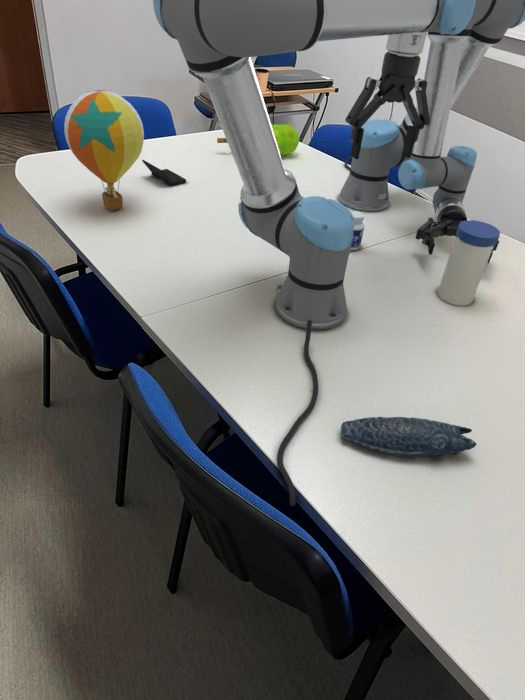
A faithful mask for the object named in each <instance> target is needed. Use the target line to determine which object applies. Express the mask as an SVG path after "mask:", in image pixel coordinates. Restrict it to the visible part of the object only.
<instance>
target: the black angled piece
mask: <svg viewBox="0 0 525 700" xmlns="http://www.w3.org/2000/svg"><path fill="white" fill-rule="evenodd" d="M141 161H142V163H143V164H144V165H145V167H147V169H148V170H149V171H150V172H151V174H150V175H151V176H153V177H155V178H156V179H158V180H160V181H162V182H163V183H165V184H167V185H168V186H170V187H172V186H177V185H180V184H184V183H185V184H186V183H187V179H186V178H184V177H183V176H181V175H179V174H177V173H175V172H173V171H172V170H170V169H168V168H164V169H161V168H159V167H157V166H155V165H153V164H151V163H150V162H148V161H146V160H145V159H142V160H141Z"/></svg>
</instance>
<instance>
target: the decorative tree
mask: <svg viewBox="0 0 525 700" xmlns="http://www.w3.org/2000/svg"><path fill="white" fill-rule="evenodd" d="M271 126H272V129H273V133H274V136H275V139H276V143H277V146H278V149H279V153H280V156H289V155H290V154H292V153H295V151H296V150H297V148H298V145H299V143H300V134H299V131H298V130H296V129H295V127H294V126H293V125H291V124H272V123H271ZM216 142H217V144H228V142H227V139H226V137H217V138H216Z"/></svg>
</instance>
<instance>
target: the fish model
mask: <svg viewBox="0 0 525 700" xmlns="http://www.w3.org/2000/svg"><path fill="white" fill-rule="evenodd" d="M472 431H473V429H471V428H470V427H466V426H460V425H456V424H450V423H448V422H443V421H437V420H431V419H427V418H421V417H420V418H419V417H405V416H392V417H387V416H386V417H385V416H377V417H375V416H373V417H372V416H371V417H363V418H358V419H353V420H347V421H343V422H342V423H341V425H340V432H341V434H340V439H343V440H347V441H349V442H353V443H354V444H355V445H359V446H361V447H363V448H367V449H370V450H371V451H375V452H380V453H383V454H385V453H387V454H389V455H391V456H399V457H407V458H413V457H423V456H427V457H430V458H439V457H440V456H441V455H445V454H451V455H454V456H457V455H459V454H460V453H461V452H464V451H468V450H472V449H474V448H475V447H476V446H477V443H476V441H474V440H473V439H472V438H469V437H467V436H465V435H464V434H470V433H471V432H472Z"/></svg>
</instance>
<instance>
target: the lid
mask: <svg viewBox="0 0 525 700" xmlns="http://www.w3.org/2000/svg"><path fill="white" fill-rule="evenodd" d="M456 235H457V237H458V238H459V239H460V240H462V241H464V242H466V243H468V244H471V245H475V246H480V247H490V246H494V245H495V244H496V243H497V241H499V239H500V235H501V231H500V230H499V228H497V227H496V226H494V225H492V224H491V223H487V222H484V221H481V220H473V219H467V220H466V221H462V222H460V223H459V226H458V227H457V230H456Z"/></svg>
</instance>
